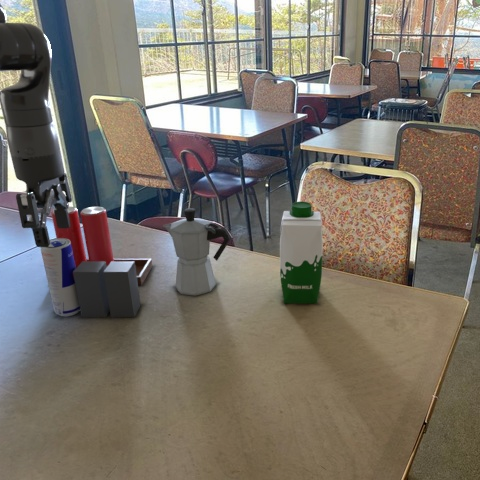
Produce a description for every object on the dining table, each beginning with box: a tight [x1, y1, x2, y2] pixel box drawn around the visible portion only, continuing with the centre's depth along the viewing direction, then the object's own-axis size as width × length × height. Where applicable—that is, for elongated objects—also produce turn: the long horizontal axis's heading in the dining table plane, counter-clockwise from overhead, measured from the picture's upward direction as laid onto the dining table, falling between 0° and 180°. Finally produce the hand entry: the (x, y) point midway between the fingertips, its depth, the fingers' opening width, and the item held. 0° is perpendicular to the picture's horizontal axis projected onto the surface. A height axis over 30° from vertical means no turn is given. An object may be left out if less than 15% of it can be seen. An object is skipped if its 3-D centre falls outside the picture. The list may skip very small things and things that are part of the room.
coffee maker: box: [162, 207, 232, 297], centre depth 102 cm, size 15×9×18 cm, turn 80°
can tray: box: [86, 258, 153, 287], centre depth 109 cm, size 19×9×2 cm, turn 93°
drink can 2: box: [80, 206, 115, 266], centre depth 106 cm, size 5×5×15 cm
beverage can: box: [39, 237, 81, 317], centre depth 92 cm, size 5×5×15 cm
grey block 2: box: [103, 261, 142, 318], centre depth 94 cm, size 4×4×10 cm
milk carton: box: [279, 201, 324, 305], centre depth 100 cm, size 9×9×20 cm
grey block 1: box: [73, 261, 110, 318], centre depth 94 cm, size 4×4×10 cm
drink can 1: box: [50, 205, 88, 268], centre depth 105 cm, size 5×5×15 cm
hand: (54, 236), depth 89 cm, fingers open, 8 cm apart
